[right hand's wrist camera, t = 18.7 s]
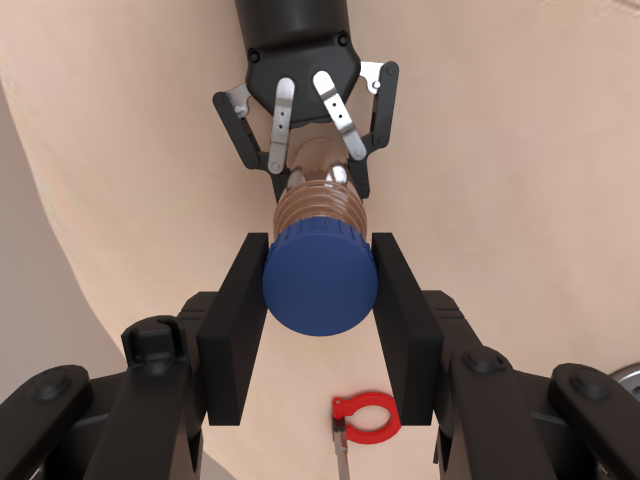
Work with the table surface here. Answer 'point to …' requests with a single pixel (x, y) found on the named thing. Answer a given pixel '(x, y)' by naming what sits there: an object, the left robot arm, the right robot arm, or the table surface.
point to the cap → (320, 277)
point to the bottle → (320, 189)
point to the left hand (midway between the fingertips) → (325, 208)
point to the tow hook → (350, 433)
